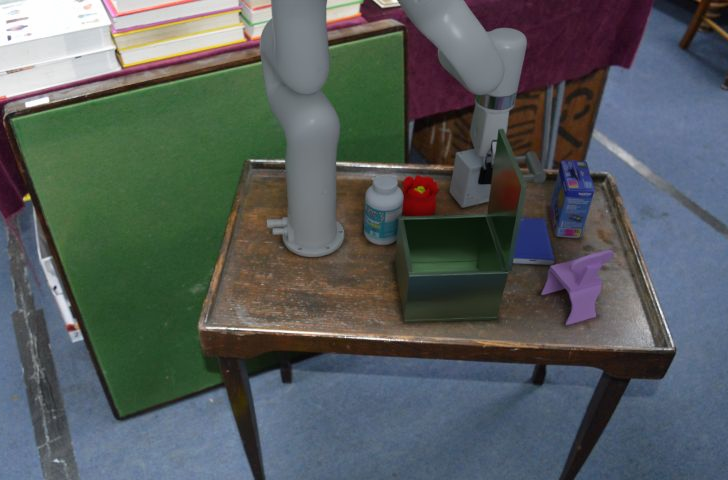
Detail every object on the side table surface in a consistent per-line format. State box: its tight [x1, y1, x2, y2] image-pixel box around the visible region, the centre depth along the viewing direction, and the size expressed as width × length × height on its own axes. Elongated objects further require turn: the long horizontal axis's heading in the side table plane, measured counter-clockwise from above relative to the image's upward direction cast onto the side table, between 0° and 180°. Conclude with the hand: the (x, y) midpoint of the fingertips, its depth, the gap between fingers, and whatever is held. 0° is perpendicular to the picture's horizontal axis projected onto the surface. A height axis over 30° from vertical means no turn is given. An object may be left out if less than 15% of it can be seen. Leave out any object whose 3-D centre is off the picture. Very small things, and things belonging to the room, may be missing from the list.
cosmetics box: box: [448, 148, 492, 209], centre depth 140 cm, size 10×6×10 cm, turn 110°
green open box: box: [394, 213, 509, 324], centre depth 119 cm, size 17×16×12 cm
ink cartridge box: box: [548, 158, 596, 239], centre depth 132 cm, size 10×6×14 cm, turn 174°
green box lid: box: [487, 129, 547, 272], centre depth 109 cm, size 17×16×5 cm
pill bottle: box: [363, 173, 403, 246], centre depth 130 cm, size 8×7×14 cm
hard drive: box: [513, 217, 556, 266], centre depth 132 cm, size 2×8×12 cm
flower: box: [400, 174, 440, 217], centre depth 137 cm, size 8×8×8 cm
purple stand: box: [540, 249, 615, 326], centre depth 115 cm, size 8×9×15 cm
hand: (481, 171), depth 139 cm, fingers closed on cosmetics box, 7 cm apart
